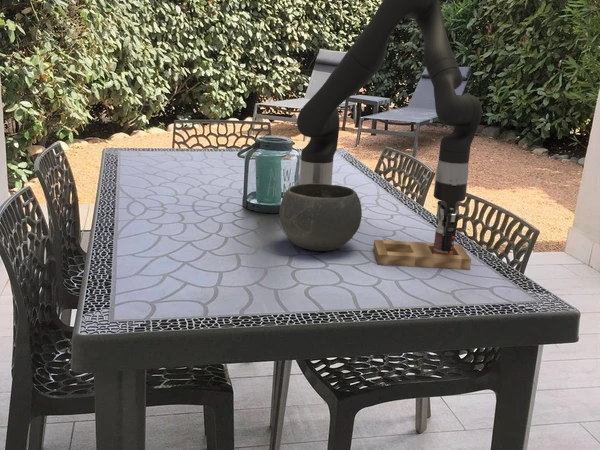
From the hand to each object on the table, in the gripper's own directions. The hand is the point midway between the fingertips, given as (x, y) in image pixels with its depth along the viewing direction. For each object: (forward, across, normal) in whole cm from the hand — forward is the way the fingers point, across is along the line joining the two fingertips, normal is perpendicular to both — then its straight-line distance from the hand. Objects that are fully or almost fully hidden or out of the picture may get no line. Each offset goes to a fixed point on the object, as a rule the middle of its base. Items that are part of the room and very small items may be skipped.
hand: (443, 247), depth 170 cm
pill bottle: (+2, 0, 0) cm, 2 cm away
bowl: (+4, -5, -30) cm, 31 cm away
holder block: (+3, 0, -5) cm, 6 cm away
